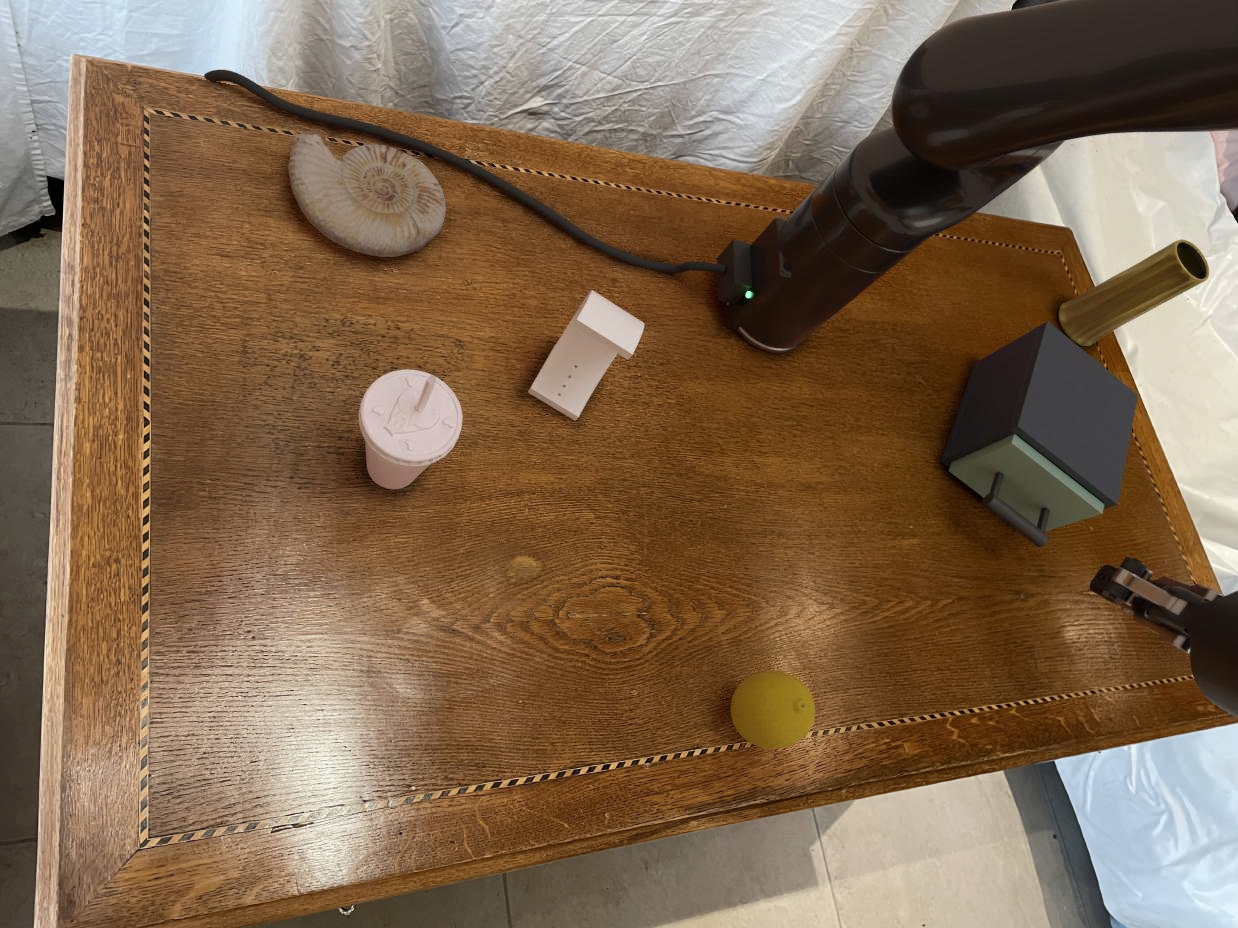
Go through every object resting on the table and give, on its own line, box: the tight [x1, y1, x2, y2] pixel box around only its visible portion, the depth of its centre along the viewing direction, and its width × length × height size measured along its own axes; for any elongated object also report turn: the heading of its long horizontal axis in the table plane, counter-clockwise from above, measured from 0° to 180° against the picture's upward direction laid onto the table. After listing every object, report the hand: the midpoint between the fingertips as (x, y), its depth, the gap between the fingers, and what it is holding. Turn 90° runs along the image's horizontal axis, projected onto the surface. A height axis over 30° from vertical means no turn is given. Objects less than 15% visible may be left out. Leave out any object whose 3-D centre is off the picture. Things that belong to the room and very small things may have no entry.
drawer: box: [948, 434, 1104, 548], centre depth 78 cm, size 18×11×8 cm, turn 151°
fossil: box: [287, 130, 447, 258], centre depth 63 cm, size 12×5×10 cm
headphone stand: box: [527, 289, 645, 422], centre depth 61 cm, size 5×6×12 cm
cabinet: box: [940, 320, 1139, 510], centre depth 80 cm, size 15×13×10 cm
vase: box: [1057, 238, 1210, 347], centre depth 91 cm, size 6×6×14 cm
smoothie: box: [358, 368, 463, 490], centre depth 52 cm, size 6×6×14 cm
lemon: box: [730, 670, 816, 750], centre depth 58 cm, size 6×6×8 cm
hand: (1103, 580), depth 56 cm, fingers closed
